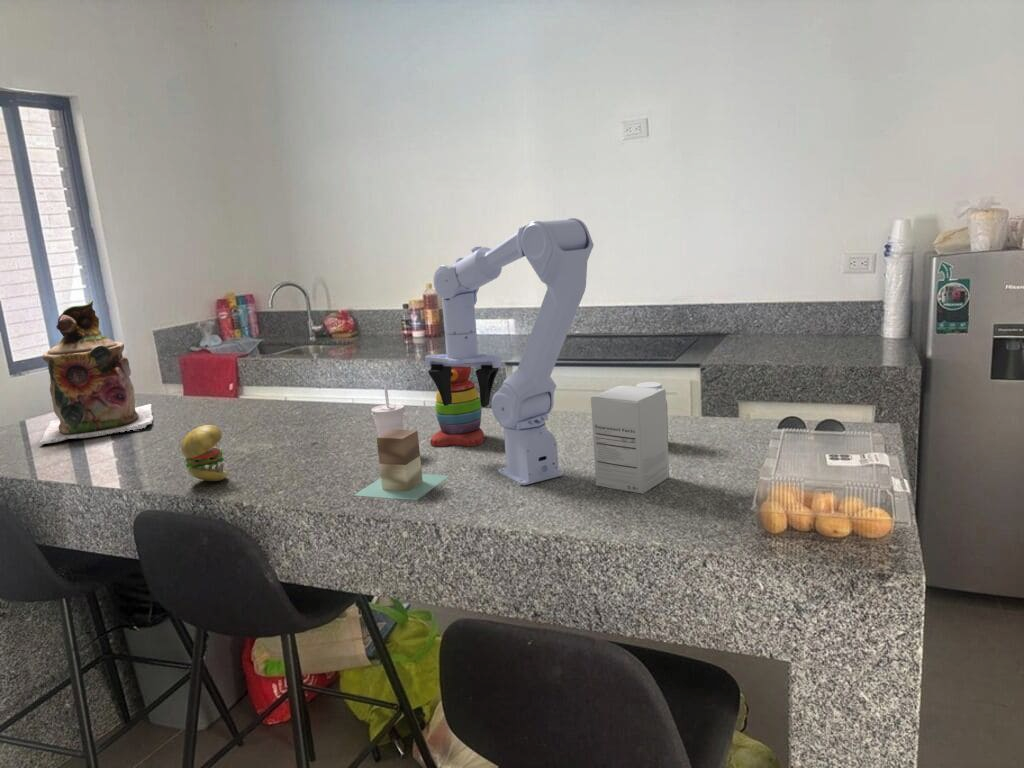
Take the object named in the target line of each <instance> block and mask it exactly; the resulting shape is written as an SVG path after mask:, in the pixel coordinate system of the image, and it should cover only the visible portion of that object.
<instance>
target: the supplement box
mask: <svg viewBox="0 0 1024 768" xmlns="http://www.w3.org/2000/svg"><path fill="white" fill-rule="evenodd" d="M666 391H667V390H666V389H665V388H662V389H656V388H643V387H636V386H633V385H618V386H615V387H613V388H610V389H608V390H605V391H602V392H601V393H598V394H596V395H592V396H590V405H591V420H592V437H593V439H592V441H593V453H594V454H593V455H594V456H593V457H594V470H595V471H594V472H595V473H594V475H595V485H596V486H597V487H603V488H609V489H615V490H617V491H618V490H619V491H625V492H631V493H635V494H641V495H644V494H646V493H647V492H649V491H650V490H652V488H654V487H656V486H658V485H659V484H661V483H662V482H664V481H666V480H667V479H668V478H670V464H669V463H670V461H669V435H668V436H667V415H668V412H667V413H666V401H667V398H666V397H667V393H666Z"/></svg>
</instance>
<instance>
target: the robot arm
mask: <svg viewBox="0 0 1024 768" xmlns="http://www.w3.org/2000/svg"><path fill="white" fill-rule="evenodd" d="M594 246H595V245H594V243H593V239H592V236H591V234H590V231H589V228H588V227H587V225H586V224H585V222H583V221H582V220H581V219H579V218H576V217H575V218H571V217H570V218H568V219H559V220H547V221H545V220H544V221H541V220H534V221H530V222H528V224H526V225H523V226H520V227H519V228H518V230H517V231H516V232H515V233H513V234H511V235H510V236H509V237H507V238H506V239H504V240H502V242H500V243H498V244H497V245H496V246H494V247H492V248H489V247H487V246H486V247H485V246H475V247H474V248H471V253H470V254H468V255H467V256H465V257H459V258H457V259H455V263H454V264H453V265H446V264H445V265H442V264H441V265H440V266H439V267H438V268H437V269H436V270H435V272H434V275H433V288H434V290H435V293H436V294H437V295H438V297H440V298H441V303H442V315H443V330H444V338H445V341H444V342H445V353H442V354H441V353H439V354H428V355H426V356H424V362H425V364H424V365H425V367H426V368H430V369H429V370H428V375H429V377H430V378H431V379H432V381H433V382H434V384H435V386H436V388H437V391H438V390H439V393H440V395H441V398H442V401H443V404H444V406H447V405H449V404H451V403H452V394H451V370H452V366H462V367H471V368H474V367H476V368H477V367H480V368H477V369H476V370H475V375H476V378H477V383H478V388H479V398H480V402H481V408H486V407H487V406H489V405H490V404H491V411H492V414H493V417H494V419H495V421H497V422H498V423H499V425H500V427H502V428H503V438H504V439H503V441H504V451H505V462H506V464H505V465H506V467H501V468H498V469H497V472H498V473H499V474H501V475H503V476H504V477H507V478H509V479H510V480H512V481H513V482H516V483H519V484H520V485H522V486H527V485H530V484H531V485H532V484H534V483H538V482H542V481H546V480H551V479H554V478H560V477H562V476H564V472H563V471H561V470H559V459H558V455H559V454H558V442H557V439H556V437H555V435H554V434H553V433H552V432H550V430H549V429H548V428H547V424H546V422H547V421H548V420H549V414H550V413H551V412H552V410H553V409H554V408H553V407H554V402H555V400H554V399H555V397H554V396H555V391H556V389H557V384H556V383H555V381H554V379H553V378H552V377H551V376H552V373H553V370H554V368H555V366H556V363H557V361H558V359H559V355H560V353H561V350H562V349H563V346H564V343H565V341H566V338H567V336H568V333H569V332H570V329H571V327H572V324H573V322H574V319H575V317H576V315H577V314H576V313H577V311H578V309H579V306H580V304H581V301H582V299H583V297H584V295H585V294H584V293H585V292H586V287H587V278H588V277H587V276H588V275H587V273H588V261H589V258H590V256H591V254H592V250H593V248H594ZM524 257H526V260H527V261H528V263H529V264H530V266H531V268H532V269H533V271H534V272H535V273H536V276H538V278H539V280H540V282H541V283H543V284H545V285H546V289H547V290H546V291H545V294H544V297H543V300H542V302H541V305H540V308H539V309H538V312H537V316H536V317H535V321H534V324H533V326H532V330H531V332H530V334H529V337H528V340H527V342H526V345H525V348H524V350H523V353H522V356H521V359H520V361H519V364H518V367H517V369H515V371H514V372H512V373H511V374H510V375H509V376H507V378H506V379H504V380H503V382H502V384H501V386H500V388H499V389H498V390H497V391H495V393H494V394H493V396H492V398H491V394H492V393H491V392H492V387H493V385H494V381H495V379H496V376H497V374H498V372H499V370H500V369H499V368H500V367H503V366H502V365H503V361H502V355H499V354H498V355H497V354H489V353H487V354H485V353H479V348H478V335H477V323H476V310H475V309H476V308H475V307H476V306H475V305H476V304H477V303H478V301H477V299H478V298H477V297H478V295H477V294H478V292H479V290H480V288H481V287H483V286H484V285H486V284H488V283H490V282H492V281H494V280H496V279H497V278H498V277H500V275H501V273H502V269H503V267H505V266H507V265H509V264H512V263H513V262H515V261H517V260H519V259H521V258H524ZM490 399H491V403H490Z"/></svg>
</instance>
